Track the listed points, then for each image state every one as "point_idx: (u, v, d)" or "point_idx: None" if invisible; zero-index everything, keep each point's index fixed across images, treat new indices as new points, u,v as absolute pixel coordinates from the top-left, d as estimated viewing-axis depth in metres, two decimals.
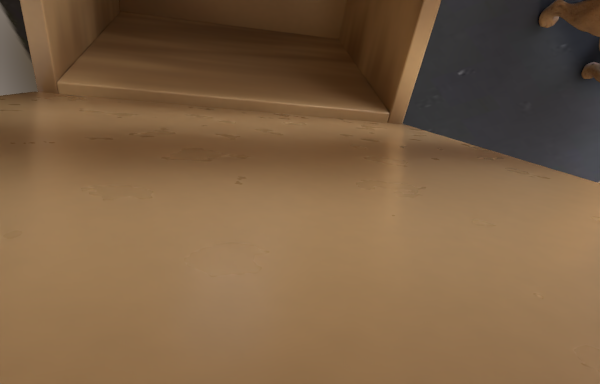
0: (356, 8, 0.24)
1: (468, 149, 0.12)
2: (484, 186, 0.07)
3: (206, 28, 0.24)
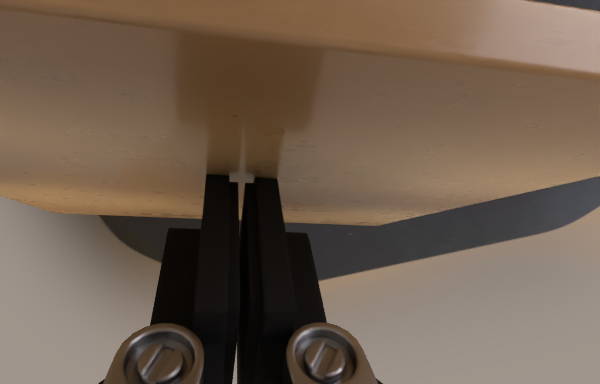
0: None
1: None
2: None
3: None
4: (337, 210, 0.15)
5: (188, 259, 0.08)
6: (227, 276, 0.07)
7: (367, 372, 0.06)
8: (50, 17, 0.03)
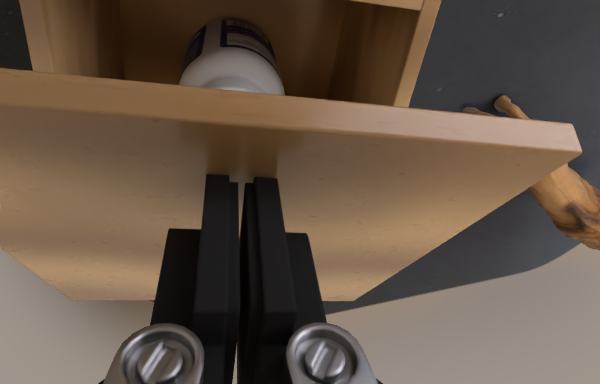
0: None
1: None
2: None
3: None
4: None
5: (188, 259, 0.08)
6: (227, 276, 0.07)
7: (367, 372, 0.06)
8: (140, 119, 0.08)
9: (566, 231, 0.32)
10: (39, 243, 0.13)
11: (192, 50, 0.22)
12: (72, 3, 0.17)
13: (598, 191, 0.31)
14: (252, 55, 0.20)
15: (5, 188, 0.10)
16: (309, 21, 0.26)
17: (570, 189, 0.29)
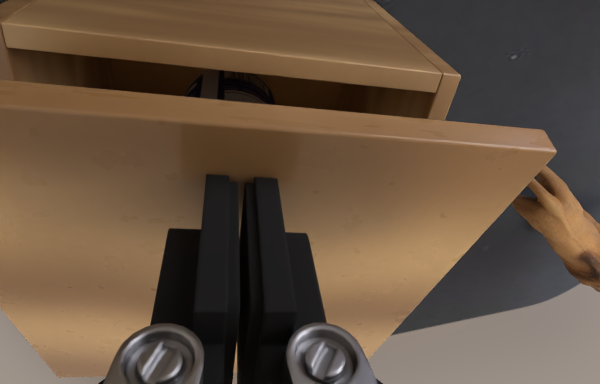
0: None
1: None
2: None
3: None
4: None
5: (187, 259, 0.08)
6: (227, 276, 0.07)
7: (367, 372, 0.06)
8: (147, 122, 0.08)
9: (579, 278, 0.31)
10: (34, 290, 0.13)
11: None
12: (55, 78, 0.16)
13: None
14: None
15: (11, 214, 0.10)
16: None
17: (584, 239, 0.28)
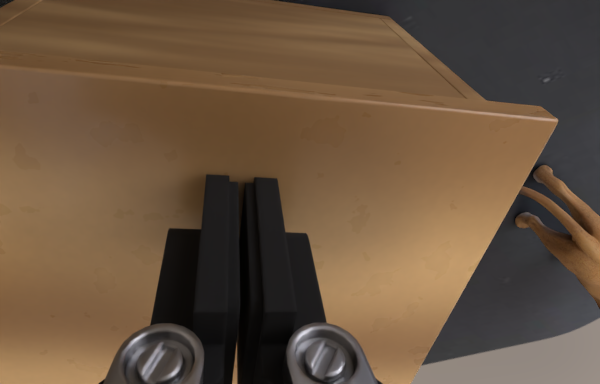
0: None
1: None
2: None
3: None
4: None
5: (188, 259, 0.08)
6: (227, 276, 0.07)
7: (367, 372, 0.06)
8: (149, 85, 0.08)
9: None
10: (12, 320, 0.12)
11: None
12: None
13: None
14: None
15: None
16: None
17: None
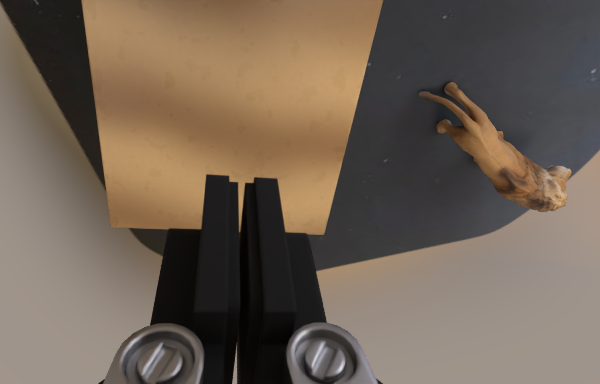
0: None
1: None
2: None
3: None
4: (285, 174, 0.27)
5: (188, 259, 0.08)
6: (227, 276, 0.07)
7: (367, 372, 0.06)
8: None
9: (502, 193, 0.39)
10: (122, 105, 0.23)
11: None
12: None
13: (528, 160, 0.39)
14: None
15: (126, 31, 0.21)
16: None
17: (501, 157, 0.37)
